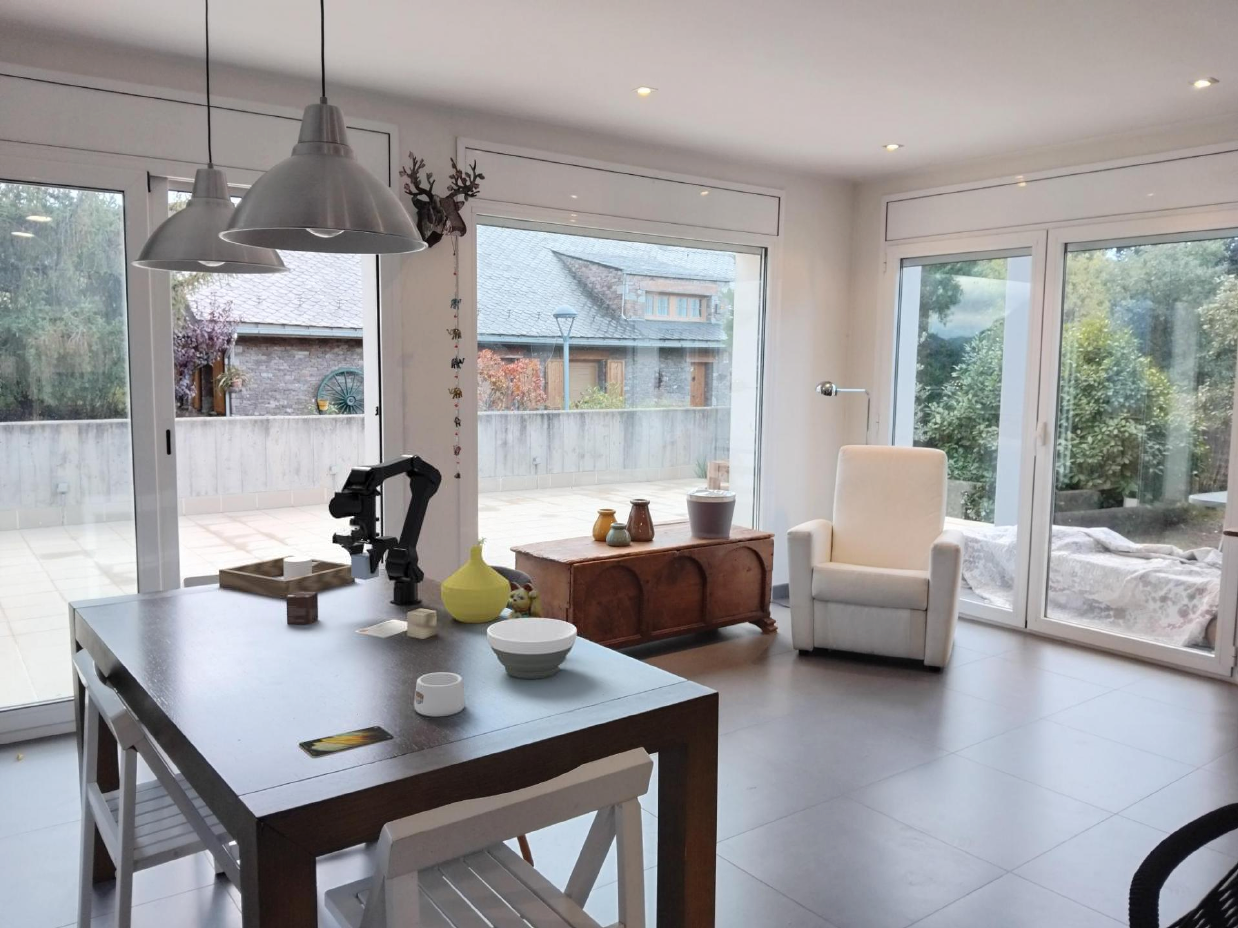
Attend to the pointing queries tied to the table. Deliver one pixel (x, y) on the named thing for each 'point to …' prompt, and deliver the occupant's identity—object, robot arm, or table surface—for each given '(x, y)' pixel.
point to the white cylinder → (298, 566)
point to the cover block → (421, 623)
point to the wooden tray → (261, 582)
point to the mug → (439, 694)
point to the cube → (362, 567)
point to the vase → (475, 591)
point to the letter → (385, 628)
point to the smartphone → (345, 741)
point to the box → (302, 607)
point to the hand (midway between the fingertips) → (365, 572)
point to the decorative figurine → (524, 602)
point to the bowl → (531, 645)
